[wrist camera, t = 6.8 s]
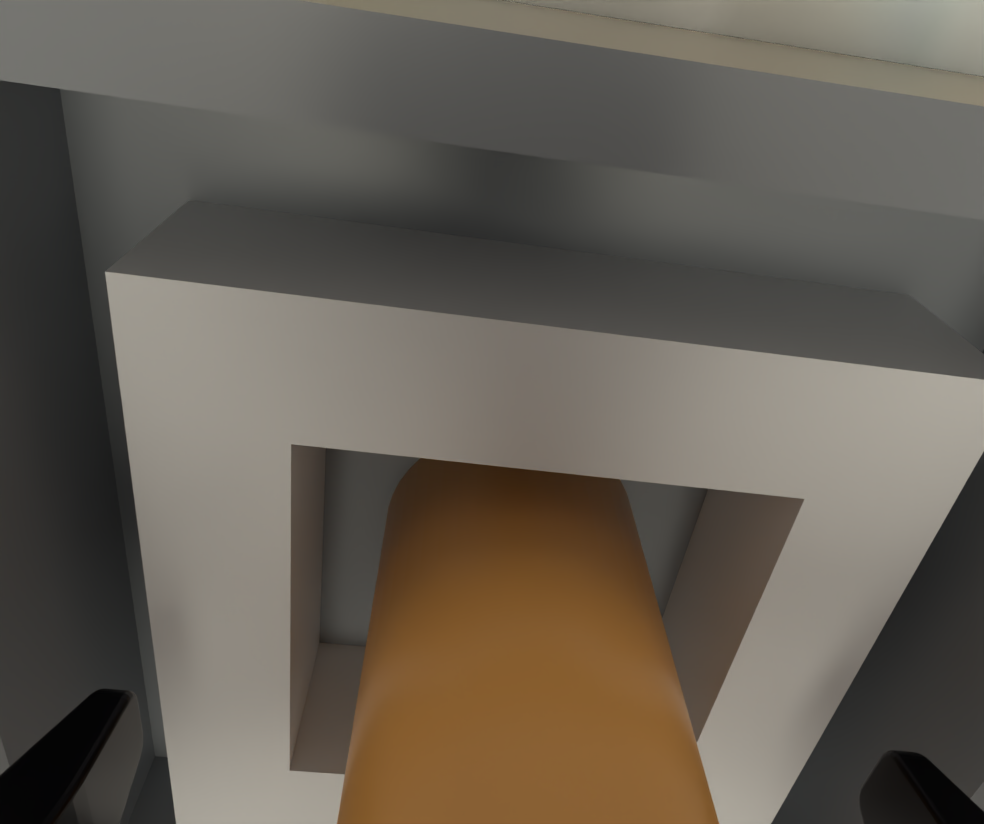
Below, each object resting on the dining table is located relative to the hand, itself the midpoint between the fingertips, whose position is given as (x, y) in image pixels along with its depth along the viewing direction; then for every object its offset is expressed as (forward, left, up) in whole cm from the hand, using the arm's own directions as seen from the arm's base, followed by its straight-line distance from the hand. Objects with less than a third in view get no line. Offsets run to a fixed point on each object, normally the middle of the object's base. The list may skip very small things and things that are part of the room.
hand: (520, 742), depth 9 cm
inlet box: (0, 0, -5) cm, 5 cm away
